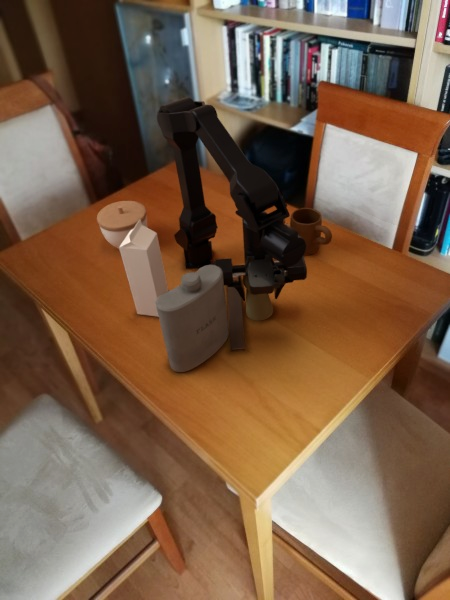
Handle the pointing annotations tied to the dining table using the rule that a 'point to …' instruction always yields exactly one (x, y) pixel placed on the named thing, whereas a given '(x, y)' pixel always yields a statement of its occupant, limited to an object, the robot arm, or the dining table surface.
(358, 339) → the dining table surface
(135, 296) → the milk
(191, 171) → the robot arm
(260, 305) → the olive pepper mill
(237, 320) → the walnut ruler
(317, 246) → the mug
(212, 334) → the flask
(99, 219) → the lidded bowl
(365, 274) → the dining table surface
